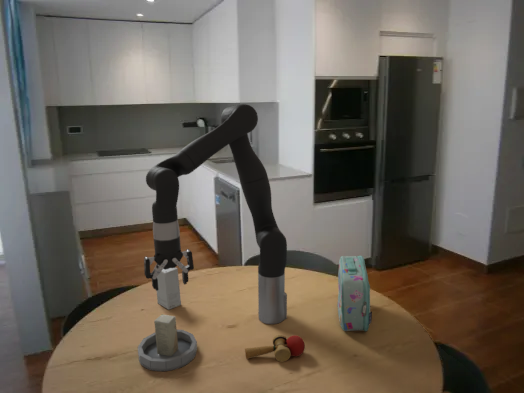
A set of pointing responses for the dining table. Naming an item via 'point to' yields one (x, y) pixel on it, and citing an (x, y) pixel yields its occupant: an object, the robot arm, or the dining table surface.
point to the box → (166, 335)
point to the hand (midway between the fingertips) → (170, 286)
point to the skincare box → (168, 288)
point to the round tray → (164, 362)
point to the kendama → (279, 348)
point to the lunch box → (353, 294)
